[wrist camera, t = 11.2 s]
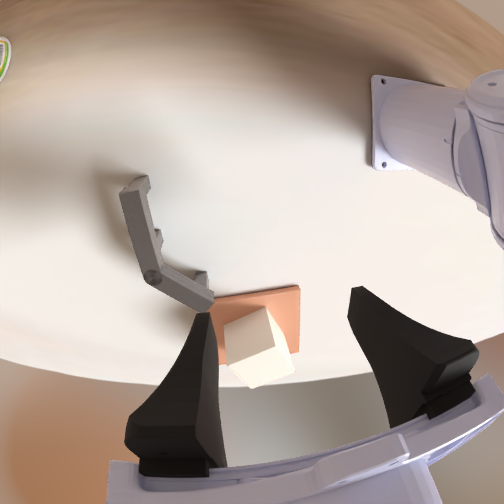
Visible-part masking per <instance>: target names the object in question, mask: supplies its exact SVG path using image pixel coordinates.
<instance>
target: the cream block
mask: <svg viewBox="0 0 504 504" xmlns="http://www.w3.org/2000/svg"><path fill="white" fill-rule="evenodd" d="M224 338H225V350H226V362H227V367H228V368H229V369H230V370H231V371H233V372H234V373H235V374H236V375H237V376H238V377H239V378H240V379H241V380H242V381H243V382H244V383H245V384H246V385H247V386H249V387H250V388H251V389H252V388H255V387H258V386H261V385H263V384H266V383H268V382H271V381H274V380H276V379H279V378H281V377H284V376H286V375H288V374H291V373H293V372H295V370H294V366H293V363H292V359H291V356H290V353H289V349H288V346H287V342H286V339H285V336H284V333H283V332H282V330H281V329H280V327H279V326H278V324H277V323H276V321H275V320H274V318H273V317H272V315H271V314H270V312H269V311H268V309H267V308H266V306H265V307H263V308H261V309H259V310H257V311H255V312H253V313H250V314H248V315H246V316H244V317H242V318H239V319H237V320H235V321H233V322H231V323H228V324H226V325H224Z"/></svg>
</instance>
